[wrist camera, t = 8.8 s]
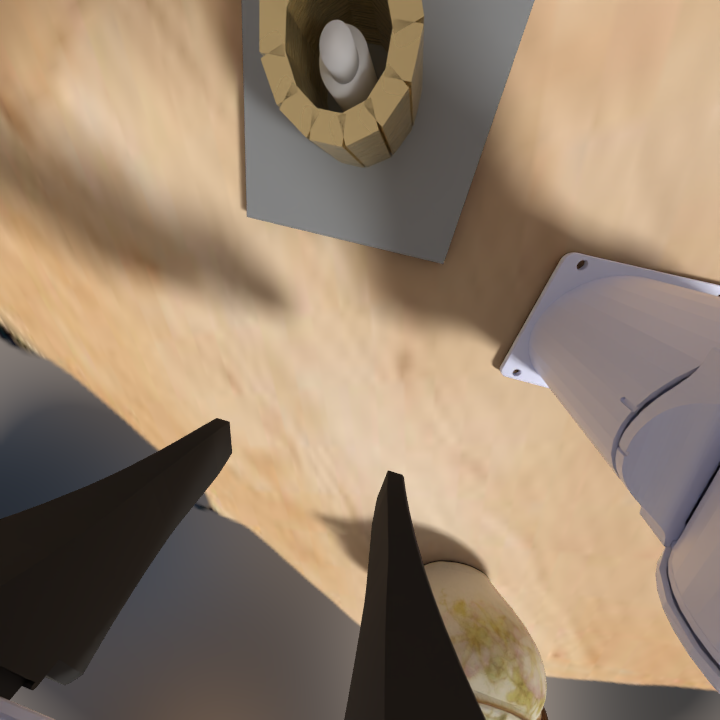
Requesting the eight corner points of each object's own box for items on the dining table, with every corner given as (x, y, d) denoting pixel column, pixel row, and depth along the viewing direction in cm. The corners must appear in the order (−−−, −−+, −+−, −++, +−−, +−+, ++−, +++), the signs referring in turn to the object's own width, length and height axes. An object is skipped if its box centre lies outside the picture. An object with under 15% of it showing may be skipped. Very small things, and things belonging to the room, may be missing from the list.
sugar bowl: (569, 596, 29) (689, 898, 16) (477, 624, 37) (509, 846, 24) (421, 517, 28) (423, 779, 15) (357, 564, 35) (321, 764, 22)
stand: (557, -78, 9) (696, -374, 5) (441, 261, 16) (451, 280, 11) (252, -119, 10) (112, -404, 6) (255, 216, 16) (189, 215, 12)
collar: (437, 23, 10) (448, -93, 7) (401, 176, 13) (394, 158, 9) (316, 1, 11) (259, -119, 7) (305, 154, 13) (259, 128, 10)
